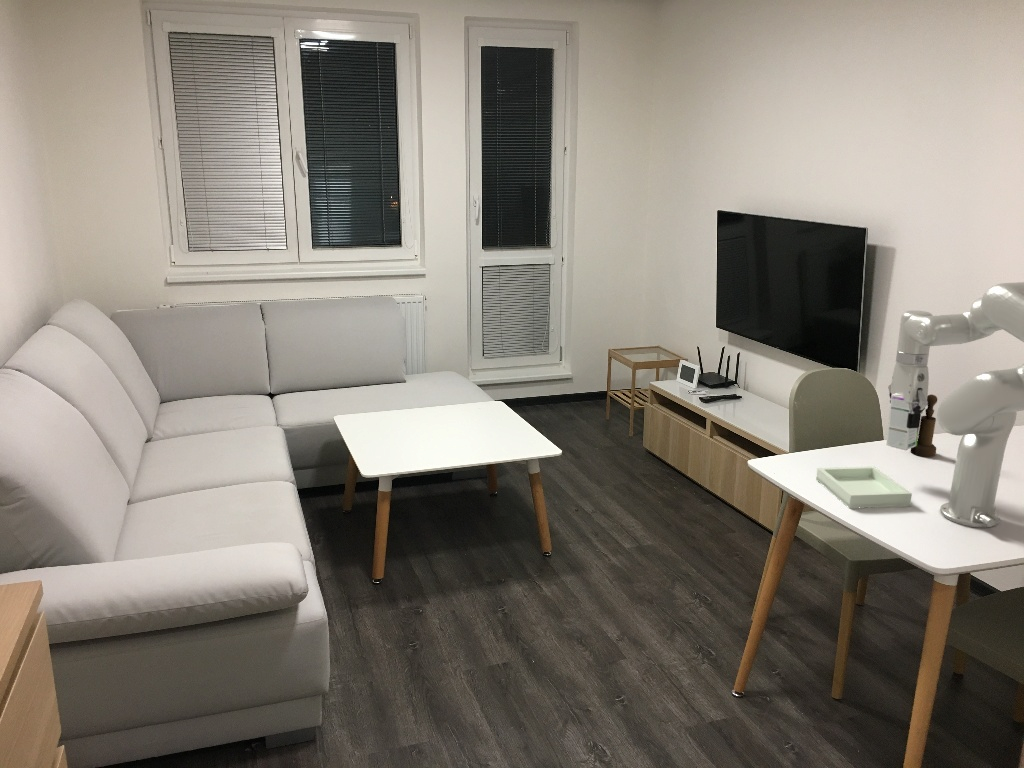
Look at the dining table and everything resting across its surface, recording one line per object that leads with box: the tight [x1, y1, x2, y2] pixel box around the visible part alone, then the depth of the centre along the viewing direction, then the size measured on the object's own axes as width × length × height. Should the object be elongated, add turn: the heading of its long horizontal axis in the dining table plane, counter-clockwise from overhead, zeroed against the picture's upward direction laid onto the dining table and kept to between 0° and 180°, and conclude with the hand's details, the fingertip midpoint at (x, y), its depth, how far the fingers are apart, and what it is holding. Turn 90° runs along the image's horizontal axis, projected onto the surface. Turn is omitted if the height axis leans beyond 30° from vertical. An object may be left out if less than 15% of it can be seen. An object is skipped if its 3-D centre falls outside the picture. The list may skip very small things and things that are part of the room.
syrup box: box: [886, 393, 920, 451], centre depth 218 cm, size 6×6×14 cm
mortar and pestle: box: [910, 394, 938, 458], centre depth 239 cm, size 7×6×18 cm
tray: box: [815, 465, 913, 509], centre depth 213 cm, size 18×16×4 cm
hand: (903, 422), depth 218 cm, fingers closed on syrup box, 7 cm apart
